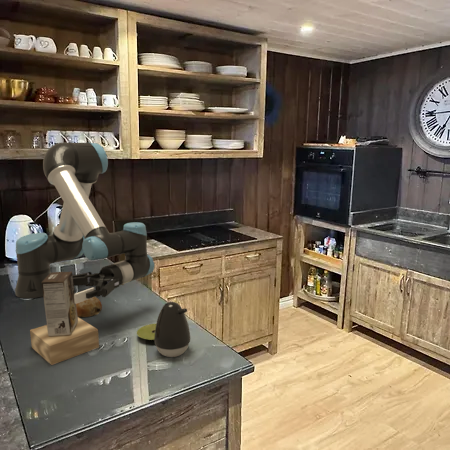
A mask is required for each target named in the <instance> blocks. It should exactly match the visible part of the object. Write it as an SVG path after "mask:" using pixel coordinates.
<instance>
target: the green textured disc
mask: <svg viewBox="0 0 450 450" xmlns="http://www.w3.org/2000/svg"><path fill="white" fill-rule="evenodd" d="M156 323H157V322H156ZM156 323H150V324H145V325H143V326H141V327H140V328H138V329H137V331H136V335H137V336H138V337H139V338H141V339H144V340H149V341H150V340H151V341H152V340H153V341H154V335H155V328H156Z"/></svg>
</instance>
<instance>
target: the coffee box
mask: <svg viewBox="0 0 450 450" xmlns="http://www.w3.org/2000/svg"><path fill="white" fill-rule="evenodd" d="M73 275H74V274H73V271H54V272H51V273H50V274H49V275H48V276H47V277H46V278H45V279H44V280H43V281H42V289H43V304H44V305H43V306H44V312H45V320H46V325H47V329H48V336H60V335H70V334H71V333H72V331H73V330H74V328H75V326H76V324H77V322H78V316H77V308H76V304H75V302H74V294H76V291H75V286H74V283H73Z"/></svg>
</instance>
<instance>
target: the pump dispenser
mask: <svg viewBox="0 0 450 450" xmlns="http://www.w3.org/2000/svg"><path fill="white" fill-rule="evenodd" d="M187 312H188V308H185V307H184V308H182V307H181V305H180V304H179V303H177V302H176V301H168V302H166V303H164V305H163V306H162V308H161V309H160V311H159V314H158V316H157V320H156V328H155V335H154V340H153V341H154V345H155V346H156V349H157V351H158V352H159V354H160V355H162V356H164V357H168V358H176V357H179V356H181V355H183V354H184V353H185V352H186V351H187V349H188V348H189V345H190V343H191V332H190V327H189V323H188V319H187V317H186V316H187V315H186V313H187Z"/></svg>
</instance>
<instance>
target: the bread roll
mask: <svg viewBox="0 0 450 450" xmlns="http://www.w3.org/2000/svg"><path fill="white" fill-rule="evenodd" d="M76 308H77V316H78V317H79V318H90V317H94V316H98V315H99V314H100V313H101V311H102V309H103V304H102V302H101V301H100V298H99V297H96V296H95V297H93V298H91V299H88V300H85V301H83V302H80V303H77V304H76Z"/></svg>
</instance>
